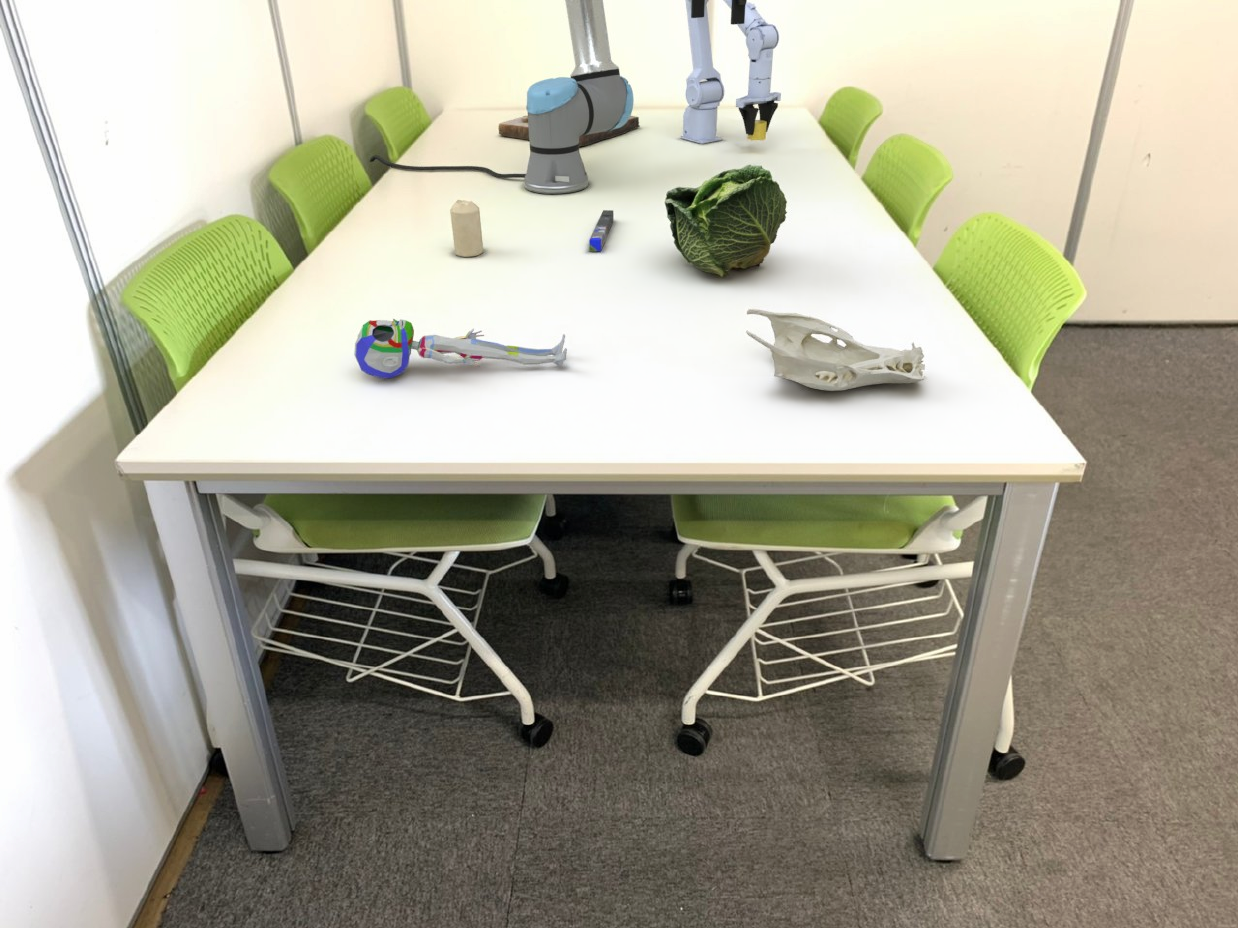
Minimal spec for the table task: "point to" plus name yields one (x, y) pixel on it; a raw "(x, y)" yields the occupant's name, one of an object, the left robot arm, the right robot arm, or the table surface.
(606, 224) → the pillar
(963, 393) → the table surface
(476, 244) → the candle
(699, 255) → the vegetable
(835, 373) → the anatomical model
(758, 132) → the cylinder
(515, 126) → the plaque
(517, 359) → the toy
